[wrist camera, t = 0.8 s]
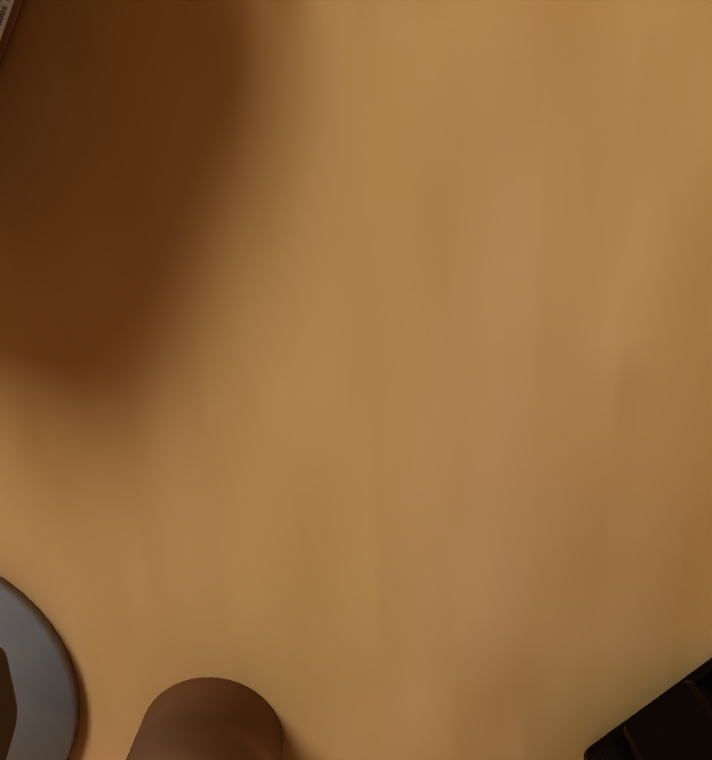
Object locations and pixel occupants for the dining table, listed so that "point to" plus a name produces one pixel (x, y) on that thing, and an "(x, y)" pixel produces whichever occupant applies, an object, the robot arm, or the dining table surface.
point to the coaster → (37, 680)
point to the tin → (7, 21)
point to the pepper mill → (208, 724)
